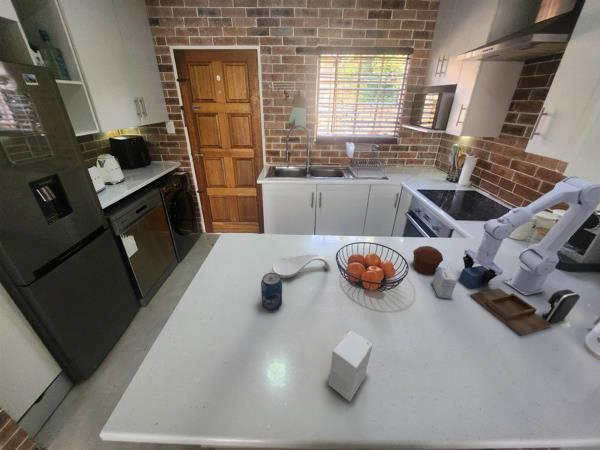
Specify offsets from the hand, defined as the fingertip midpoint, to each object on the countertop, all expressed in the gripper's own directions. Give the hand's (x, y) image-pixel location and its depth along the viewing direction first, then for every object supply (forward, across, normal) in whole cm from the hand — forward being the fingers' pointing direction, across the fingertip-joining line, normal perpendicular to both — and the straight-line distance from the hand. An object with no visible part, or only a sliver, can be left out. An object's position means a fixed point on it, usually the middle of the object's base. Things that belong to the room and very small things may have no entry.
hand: (474, 278), depth 99 cm
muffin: (+2, -13, -13) cm, 18 cm away
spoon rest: (+2, -23, -66) cm, 70 cm away
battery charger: (+2, +21, +11) cm, 24 cm away
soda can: (+2, -7, -81) cm, 81 cm away
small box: (+2, +23, -67) cm, 71 cm away
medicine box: (+2, +1, -17) cm, 17 cm away
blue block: (+2, 0, 0) cm, 2 cm away
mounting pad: (+2, +15, -1) cm, 15 cm away
